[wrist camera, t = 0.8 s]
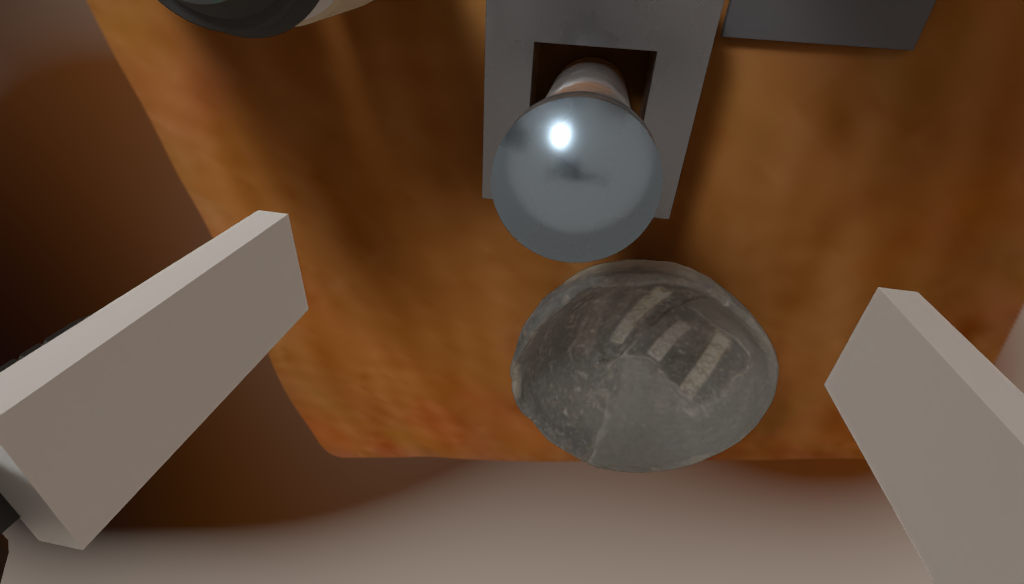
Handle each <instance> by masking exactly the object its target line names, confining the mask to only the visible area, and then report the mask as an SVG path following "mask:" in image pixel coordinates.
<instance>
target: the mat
mask: <svg viewBox="0 0 1024 584" xmlns="http://www.w3.org/2000/svg"><path fill="white" fill-rule="evenodd" d="M935 1H936V0H730V1H729V5H728V9H727V13H726V17H725V20H724V24H723V28H722V32H721V36H722V37H733V38H747V39H761V40H775V41H789V42H803V43H817V44H830V45H844V46H858V47H872V48H886V49H900V50H913V49H914V47H915V45H916V43H917V41H918V39H919V36H920V34H921V32H922V30H923V28H924V25H925V23H926V21H927V19H928V17H929V15H930V12H931V10H932V8H933V6H934V4H935Z"/></svg>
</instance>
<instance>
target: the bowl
mask: <svg viewBox="0 0 1024 584" xmlns="http://www.w3.org/2000/svg"><path fill="white" fill-rule="evenodd" d="M510 375H511V378H512V391H513V394H514V398H515V401H516V404H517V406H518V407H519V409H520V411H521V412H522V413H523V414H524V415H525V416H527V417H528V418H529V419H531V420H532V421H533V423H534V424H535V425H536V427H537V428H538V429H539V430H540V431H541V433H542V434H543V435H544V436H545V437H546V438H547V439H548V440H549V441H550V442H552V443H553V444H555V445H557V446H558V447H559V448H561V449H563V450H565V451H566V452H568V453H570V454H572V455H573V456H575V457H576V458H578V459H580V460H582V461H584V462H588V463H589V464H590V465H592V466H594V467H598V468H603V469H609V470H614V471H622V472H640V473H643V472H655V471H665V470H670V469H677V468H681V467H685V466H689V465H692V464H695V463H698V462H700V461H703V460H705V459H707V458H709V457H711V456H714V455H716V454H718V453H720V452H722V451H724V450H726V449H728V448H729V447H731V446H733V445H734V444H736V443H738V442H739V441H741V440H742V438H744V437H745V436H746V435H747V434H748V433H749V432H750V431H751V430H752V429H754V428H755V426H756V425H757V424H758V423H759V421H760V420H761V418H762V417H763V415H764V414H765V412H766V411H767V409H768V408H769V406H770V405H771V402H772V400H773V398H774V395H775V392H776V386H777V381H778V375H779V364H778V360H777V356H776V352H775V349H774V347H773V345H772V343H771V341H770V339H769V337H768V336H767V334H766V333H765V331H764V330H763V328H762V327H761V325H760V324H759V323H758V322H757V320H756V319H755V318H754V316H753V315H752V314H751V313H750V311H749V310H748V309H747V308H746V307H745V306H743V305H742V304H741V303H740V302H739V301H738V300H737V299H736V298H735V297H734V296H733V295H731V294H730V293H729V292H728V291H726V290H725V289H724V288H722V287H721V286H720V285H719V284H717V283H716V282H715V281H714V280H712V279H711V278H710V277H708V276H706V275H704V274H702V273H699V272H698V271H696V270H694V269H691V268H689V267H686V266H683V265H680V264H678V263H674V262H669V261H653V260H645V259H642V260H621V261H615V262H609V263H602V264H598V265H595V266H592V267H588V268H586V269H584V270H582V271H580V272H578V273H577V274H575V275H574V276H572V277H571V278H569V279H568V280H566V281H565V282H564V283H563V284H562V285H560V286H559V287H558V288H556V289H555V290H554V291H552V292H551V293H549V294H548V295H547V296H546V297H545V298H544V299H542V300H541V302H540V304H539V305H538V306H537V308H536V309H535V310H534V312H533V313H532V314H531V316H530V317H529V318H528V320H527V321H526V323H525V325H524V326H523V329H522V331H521V334H520V336H519V339H518V342H517V347H516V351H515V354H514V357H513V360H512V363H511V369H510Z"/></svg>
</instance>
